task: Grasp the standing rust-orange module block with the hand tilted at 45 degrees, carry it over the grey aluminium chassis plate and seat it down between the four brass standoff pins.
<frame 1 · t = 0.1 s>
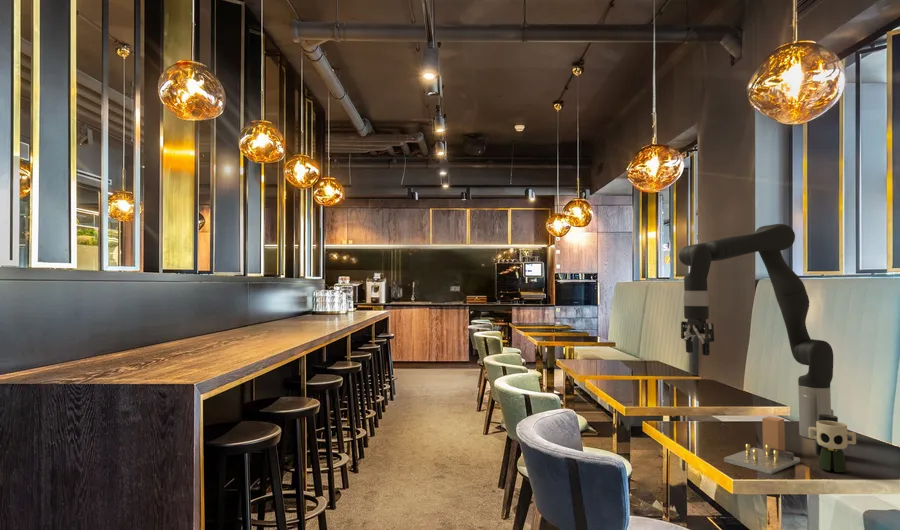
hand: (697, 353, 180), 29 cm above the table, tool pointing down, fingers open, 8 cm apart
module: (773, 451, 171), on the table
supplement bottle: (828, 456, 166), on the table
character mug: (832, 471, 152), on the table
chassis: (761, 461, 160), on the table
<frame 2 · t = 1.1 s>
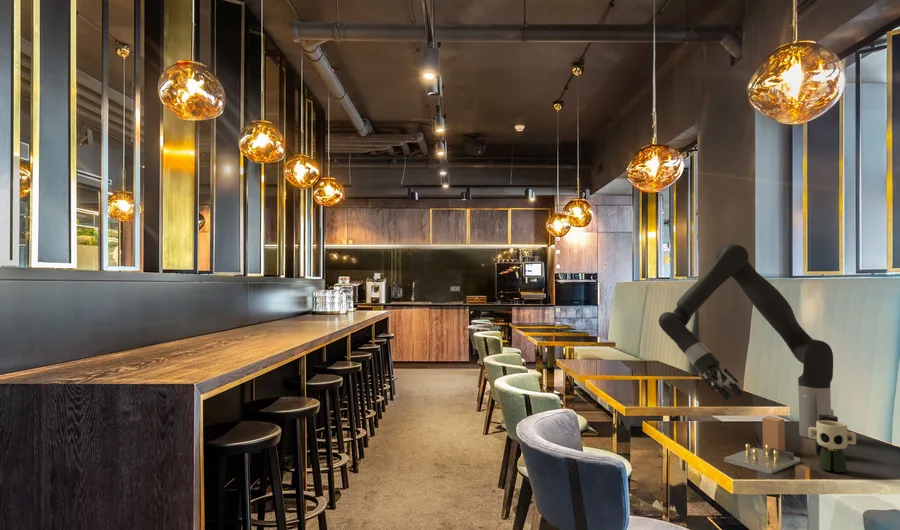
hand: (735, 397, 181), 15 cm above the table, tool tilted 45°, fingers open, 8 cm apart
nothing on the table moved.
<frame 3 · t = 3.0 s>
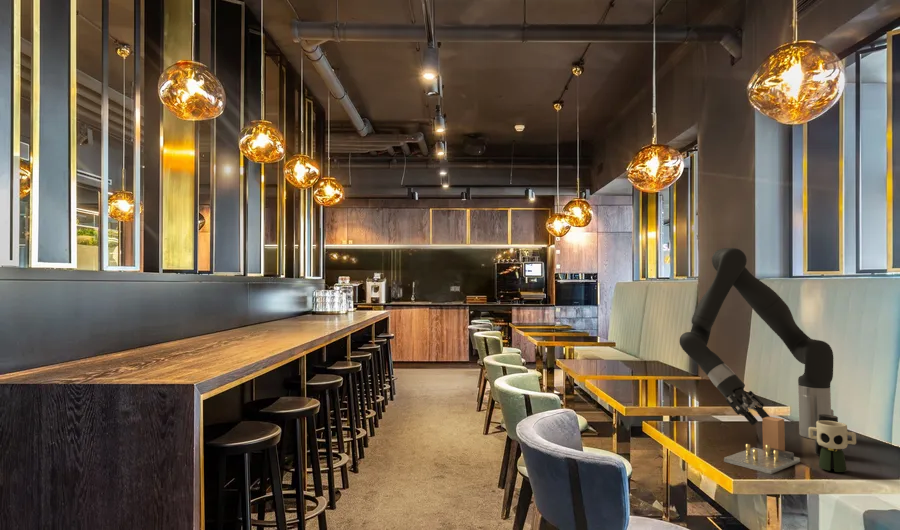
hand: (762, 421, 174), 8 cm above the table, tool tilted 45°, fingers open, 8 cm apart
nothing on the table moved.
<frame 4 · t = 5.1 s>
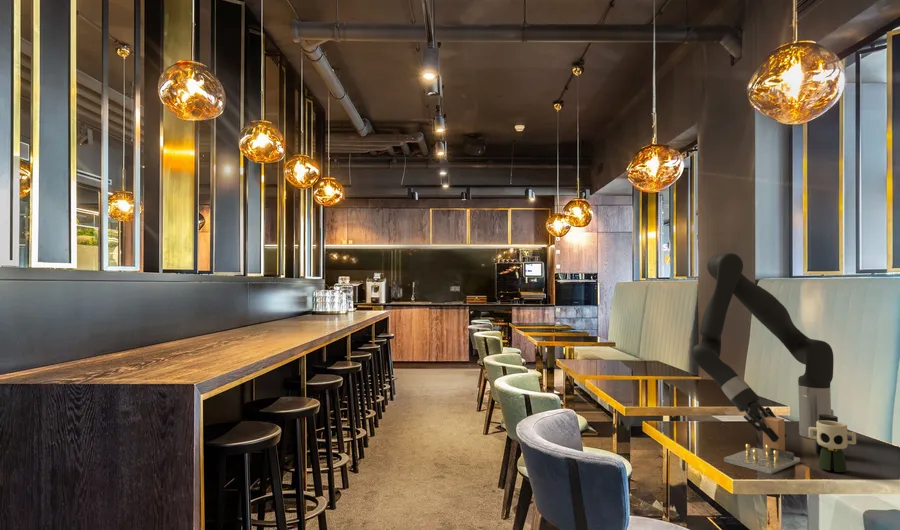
hand: (780, 438, 169), 4 cm above the table, tool tilted 45°, fingers closed on module, 4 cm apart
module: (774, 451, 171), on the table, touching gripper
everything else where it was.
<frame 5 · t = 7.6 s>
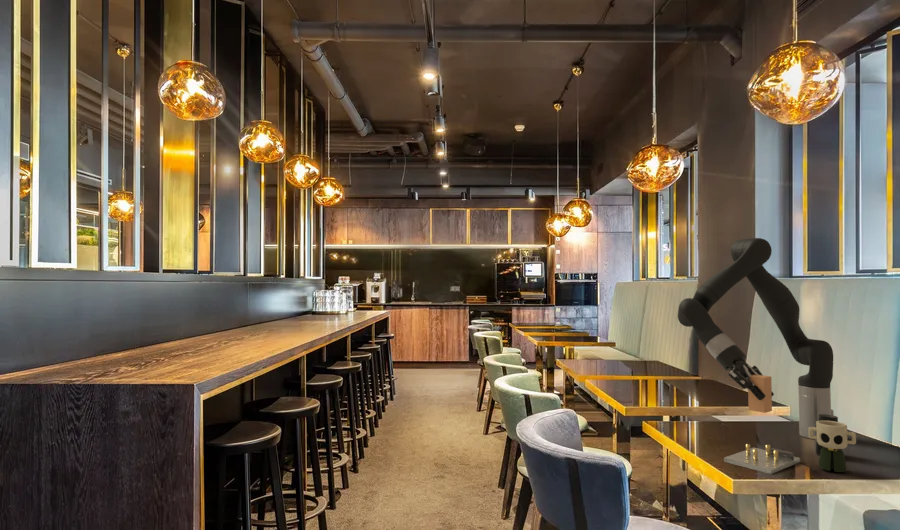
hand: (767, 397, 159), 19 cm above the table, tool tilted 45°, fingers closed on module, 4 cm apart
module: (760, 410, 160), point 15 cm above the table, touching gripper
everything else where it was.
when the fingers open (7 cm above the table, at t = 10.2 s): module drops 2 cm, resting on chassis.
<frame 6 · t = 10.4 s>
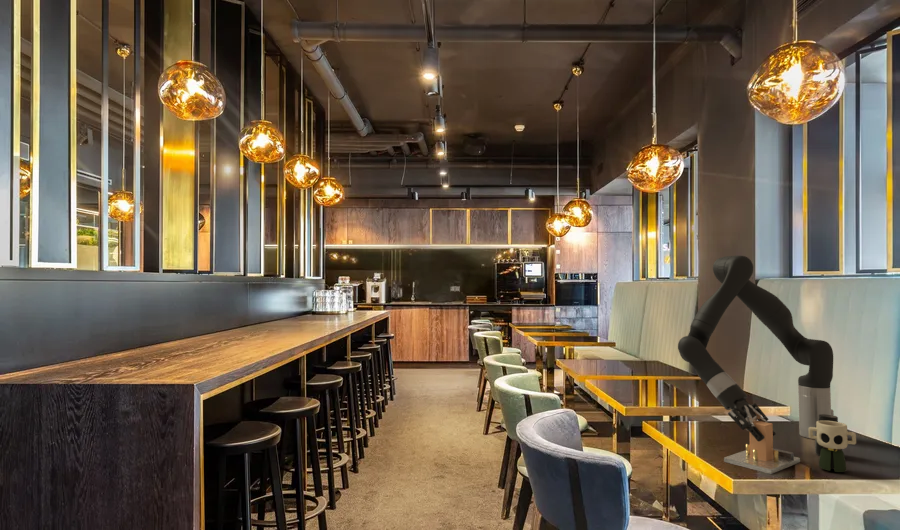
hand: (767, 437, 159), 7 cm above the table, tool tilted 45°, fingers open, 6 cm apart
module: (761, 457, 160), point 1 cm above the table, touching chassis
everything else where it was.
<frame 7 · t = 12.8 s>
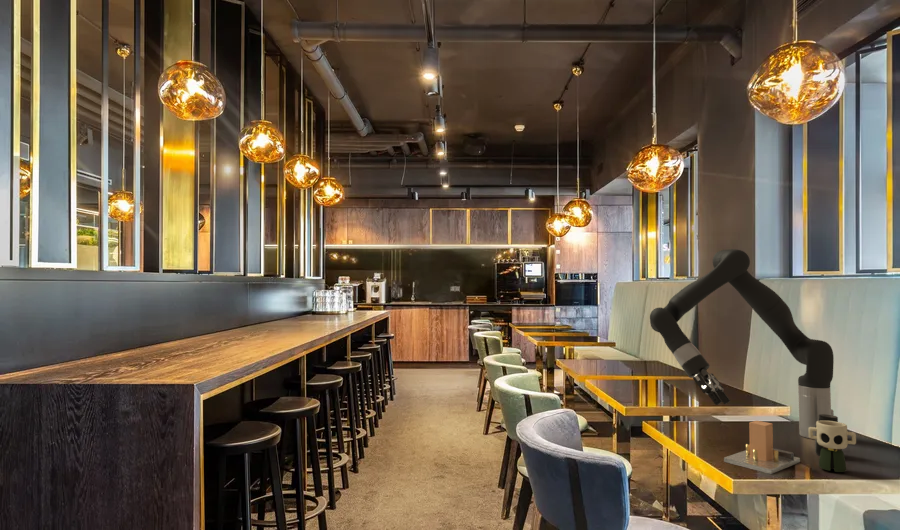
hand: (723, 403, 172), 15 cm above the table, tool tilted 40°, fingers open, 8 cm apart
nothing on the table moved.
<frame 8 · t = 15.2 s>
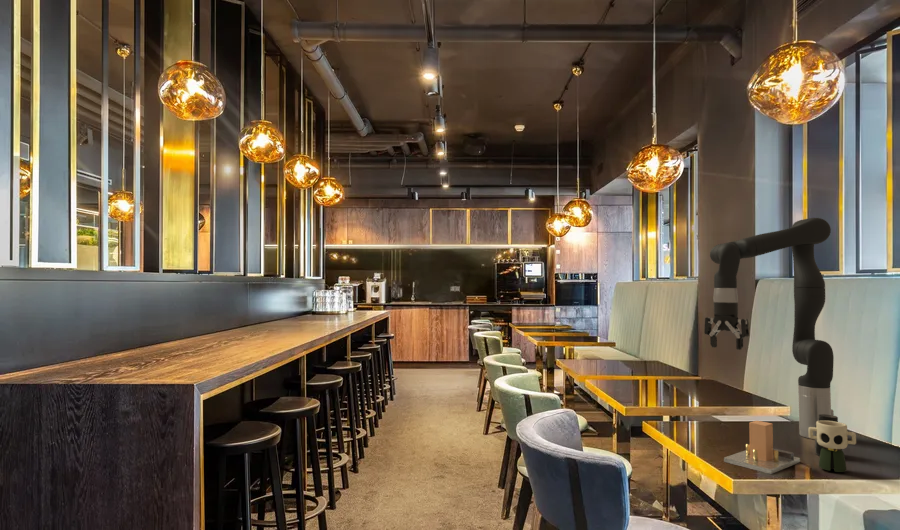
hand: (726, 348, 188), 30 cm above the table, tool pointing down, fingers open, 8 cm apart
nothing on the table moved.
at the end: module 0.1 cm off-centre on the chassis, point 1.2 cm above the chassis's base; module tilted 0°; the gripper is holding nothing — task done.
